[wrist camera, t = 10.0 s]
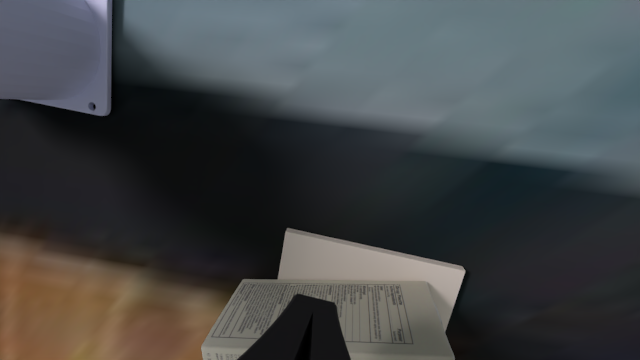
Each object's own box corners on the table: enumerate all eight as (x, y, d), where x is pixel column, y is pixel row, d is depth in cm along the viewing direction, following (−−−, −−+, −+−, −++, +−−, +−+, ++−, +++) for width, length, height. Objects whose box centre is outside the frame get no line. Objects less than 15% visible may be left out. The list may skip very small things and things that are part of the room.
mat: (259, 392, 24) (257, 399, 23) (287, 227, 20) (285, 231, 20) (407, 431, 23) (408, 439, 23) (462, 266, 20) (465, 271, 19)
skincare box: (208, 414, 16) (454, 439, 14) (195, 345, 15) (459, 363, 13) (251, 327, 22) (427, 337, 20) (244, 273, 21) (429, 279, 19)
